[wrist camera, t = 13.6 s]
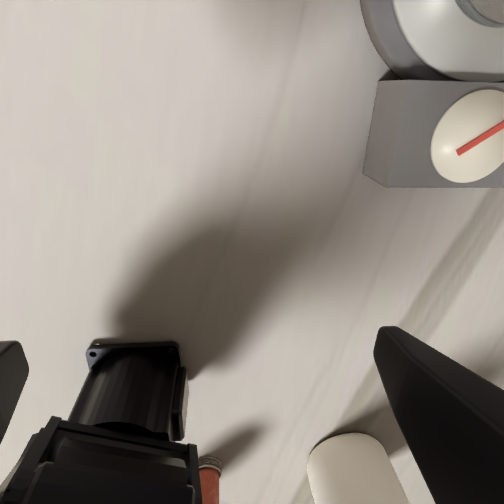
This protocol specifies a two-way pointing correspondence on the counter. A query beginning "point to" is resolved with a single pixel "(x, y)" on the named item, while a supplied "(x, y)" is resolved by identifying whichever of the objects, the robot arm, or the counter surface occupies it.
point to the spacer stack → (484, 11)
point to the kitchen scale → (436, 97)
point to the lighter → (209, 479)
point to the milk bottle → (353, 472)
